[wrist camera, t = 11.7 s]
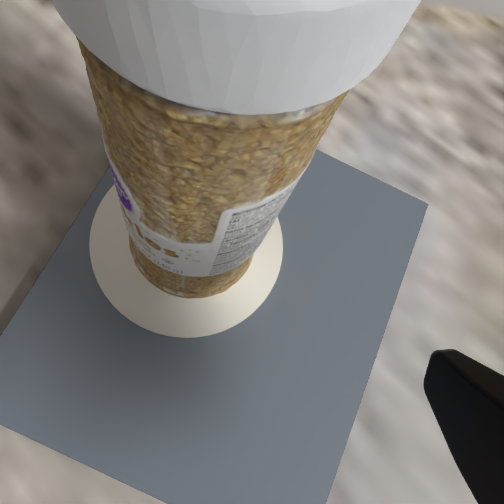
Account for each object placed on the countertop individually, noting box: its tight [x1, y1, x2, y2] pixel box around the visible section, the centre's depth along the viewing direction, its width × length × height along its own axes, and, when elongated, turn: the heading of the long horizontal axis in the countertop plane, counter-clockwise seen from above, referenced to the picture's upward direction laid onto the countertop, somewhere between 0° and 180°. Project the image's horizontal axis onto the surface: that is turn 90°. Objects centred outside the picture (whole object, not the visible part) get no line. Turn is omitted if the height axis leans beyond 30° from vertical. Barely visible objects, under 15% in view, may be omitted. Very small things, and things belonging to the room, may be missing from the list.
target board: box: [0, 149, 428, 504], centre depth 17 cm, size 14×12×1 cm
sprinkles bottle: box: [52, 0, 421, 299], centre depth 10 cm, size 5×5×14 cm
